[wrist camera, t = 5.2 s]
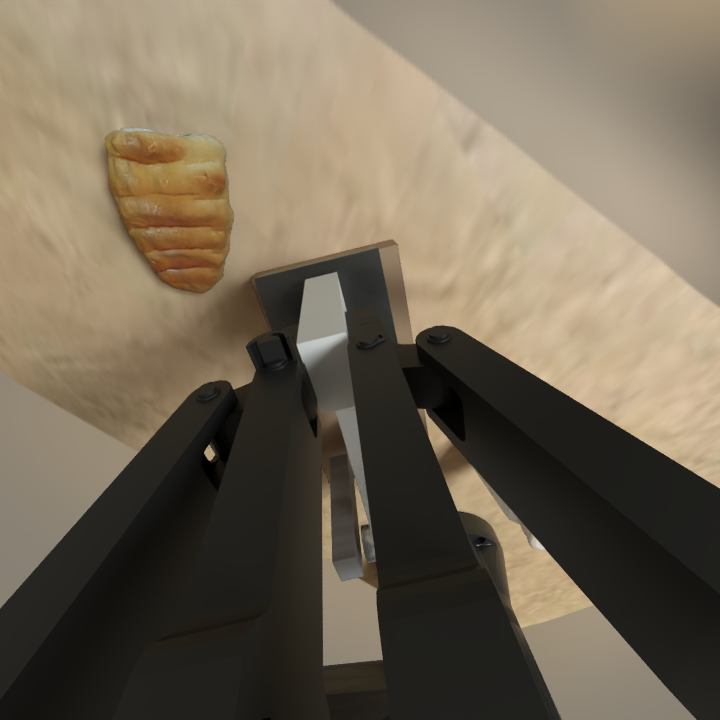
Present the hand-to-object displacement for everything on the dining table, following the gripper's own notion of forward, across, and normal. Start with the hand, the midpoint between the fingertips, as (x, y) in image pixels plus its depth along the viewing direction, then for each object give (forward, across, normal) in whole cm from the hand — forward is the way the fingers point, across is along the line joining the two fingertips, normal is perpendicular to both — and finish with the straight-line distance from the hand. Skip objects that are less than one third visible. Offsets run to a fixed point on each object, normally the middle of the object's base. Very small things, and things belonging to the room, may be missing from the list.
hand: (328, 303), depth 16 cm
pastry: (+10, +8, -5) cm, 14 cm away
